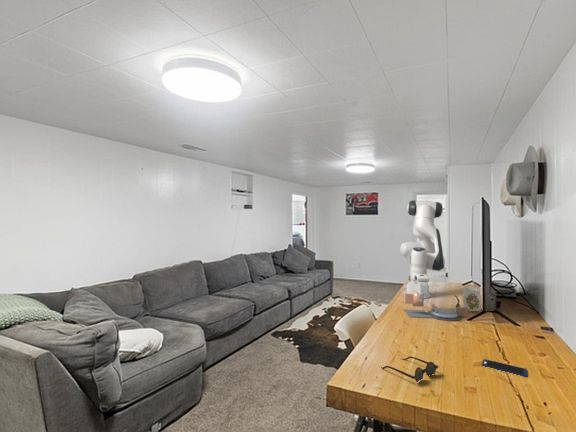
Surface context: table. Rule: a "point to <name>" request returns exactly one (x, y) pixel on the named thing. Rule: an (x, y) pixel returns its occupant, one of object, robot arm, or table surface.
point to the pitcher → (471, 298)
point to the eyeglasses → (418, 369)
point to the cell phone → (505, 367)
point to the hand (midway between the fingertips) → (418, 299)
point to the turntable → (448, 312)
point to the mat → (417, 313)
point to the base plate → (444, 318)
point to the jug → (413, 299)
